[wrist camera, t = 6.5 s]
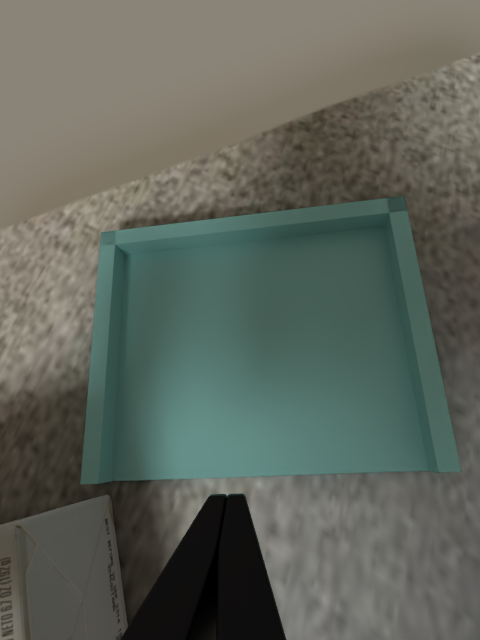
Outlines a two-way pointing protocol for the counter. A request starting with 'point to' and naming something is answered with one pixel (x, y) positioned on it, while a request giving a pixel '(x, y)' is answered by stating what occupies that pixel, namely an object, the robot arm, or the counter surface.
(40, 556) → the coffee box
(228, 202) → the counter surface
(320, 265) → the tray
